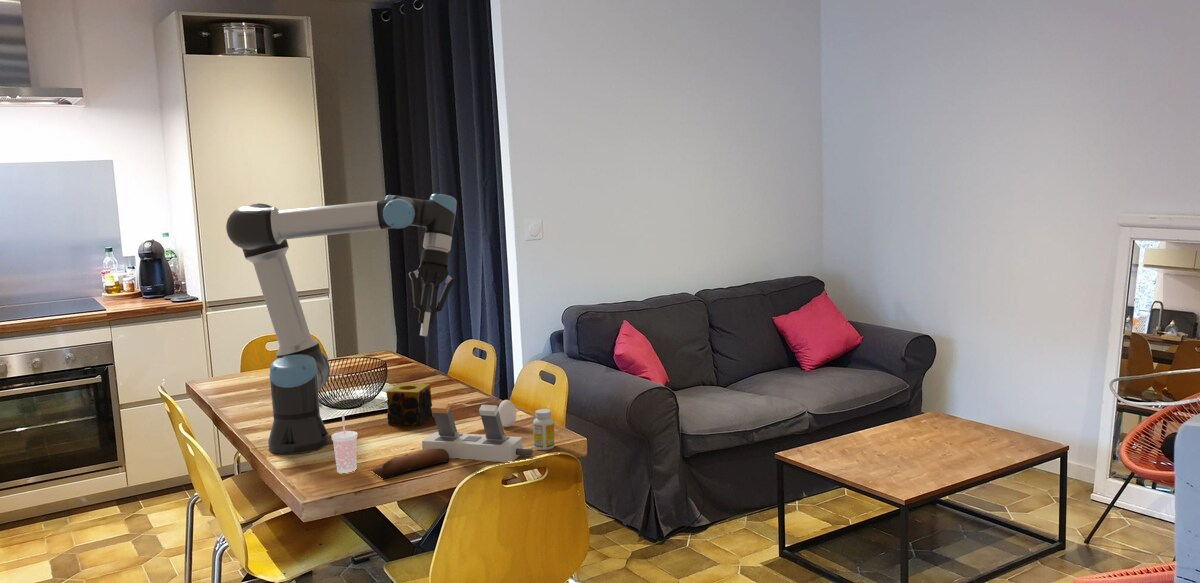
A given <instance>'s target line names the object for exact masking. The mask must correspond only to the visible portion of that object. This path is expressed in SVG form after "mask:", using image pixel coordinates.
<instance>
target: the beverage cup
mask: <svg viewBox="0 0 1200 583" xmlns="http://www.w3.org/2000/svg"><path fill="white" fill-rule="evenodd" d="M341 419H342V420H341V422H342V431H337V432H335V433H333V434H331V441H332V442H333V443H332V445H333V449H334V450H333V451H334V458H335V465H336V472H337V473H338V472H339V473H338V474H342V473H346V474H349V473H348V472H352V471H354V472H355V470H356V469H357V468H358V466H357V464H358V463H357V453H358V452H357V448H358V447H357V445H358V443H357V439H358V432H357V431H353V430H346V423H345V420H346V419H345V413H342V415H341ZM356 471H357V470H356ZM352 473H353V472H352Z"/></svg>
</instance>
